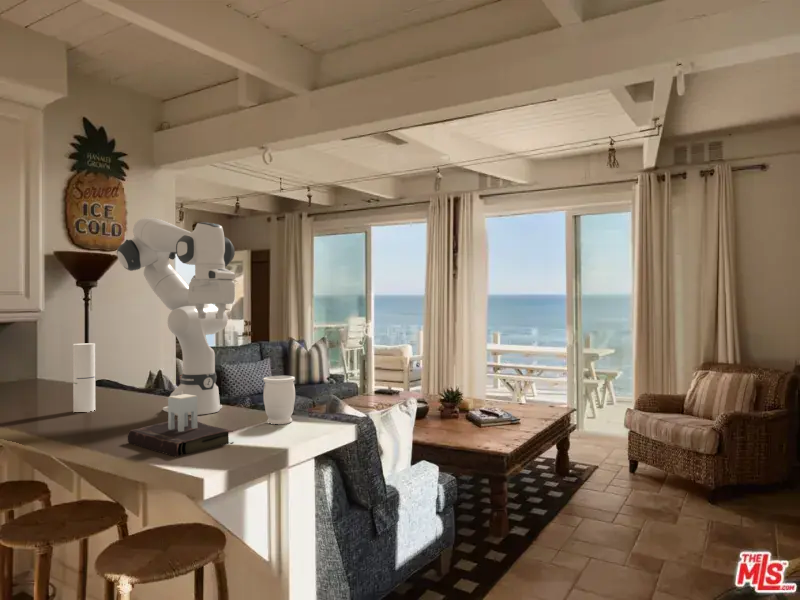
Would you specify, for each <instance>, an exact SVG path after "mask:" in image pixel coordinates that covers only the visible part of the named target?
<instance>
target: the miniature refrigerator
mask: <svg viewBox="0 0 800 600" xmlns="http://www.w3.org/2000/svg"><path fill="white" fill-rule="evenodd" d="M72 350H73V351H72V368H73V369H72V372H73V373H72V374H73V375H72V380H73V381H72V382H73V383H72V386H73V388H72V389H73V390H72V395H73V397H72V399H73V400H72V403H73V405H72V406H73V409H72V411H73V413H74V412H87V413H91V412H90V411H92V412H95V411H96V343H95V342H93V343H92V342H91V343H90V342H89V343H73V344H72ZM94 410H95V411H94Z"/></svg>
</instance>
